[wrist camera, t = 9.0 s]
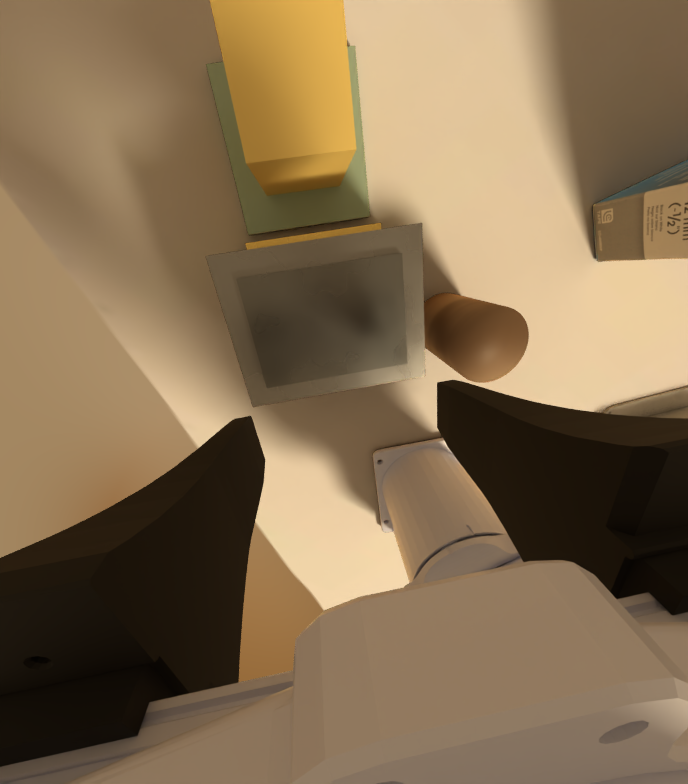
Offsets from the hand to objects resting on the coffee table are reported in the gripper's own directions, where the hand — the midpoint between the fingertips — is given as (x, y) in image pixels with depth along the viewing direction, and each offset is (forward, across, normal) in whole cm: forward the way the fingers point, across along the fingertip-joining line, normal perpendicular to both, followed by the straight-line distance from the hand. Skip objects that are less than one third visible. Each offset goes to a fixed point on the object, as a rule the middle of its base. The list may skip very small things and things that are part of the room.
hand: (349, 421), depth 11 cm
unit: (+10, 0, -3) cm, 10 cm away
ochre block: (+10, 0, -11) cm, 15 cm away
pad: (+10, 0, -11) cm, 15 cm away
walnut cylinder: (+10, -8, 0) cm, 13 cm away
